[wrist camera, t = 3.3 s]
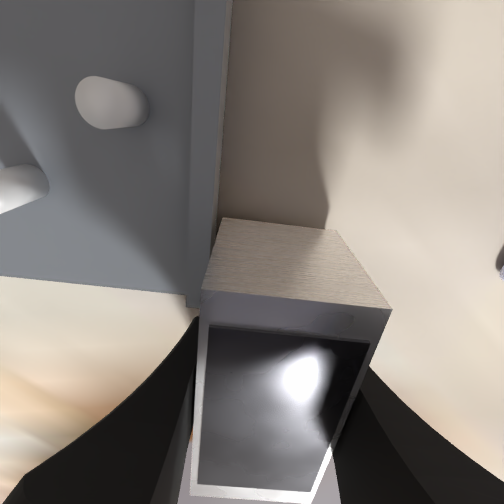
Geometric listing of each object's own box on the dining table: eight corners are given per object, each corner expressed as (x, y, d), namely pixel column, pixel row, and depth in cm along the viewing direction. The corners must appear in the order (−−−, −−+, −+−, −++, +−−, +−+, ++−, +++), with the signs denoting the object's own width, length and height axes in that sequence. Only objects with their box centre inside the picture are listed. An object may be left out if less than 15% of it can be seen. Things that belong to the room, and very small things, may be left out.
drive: (336, 230, 11) (394, 311, 7) (293, 387, 15) (311, 507, 11) (222, 217, 11) (200, 291, 6) (208, 379, 15) (188, 498, 10)
